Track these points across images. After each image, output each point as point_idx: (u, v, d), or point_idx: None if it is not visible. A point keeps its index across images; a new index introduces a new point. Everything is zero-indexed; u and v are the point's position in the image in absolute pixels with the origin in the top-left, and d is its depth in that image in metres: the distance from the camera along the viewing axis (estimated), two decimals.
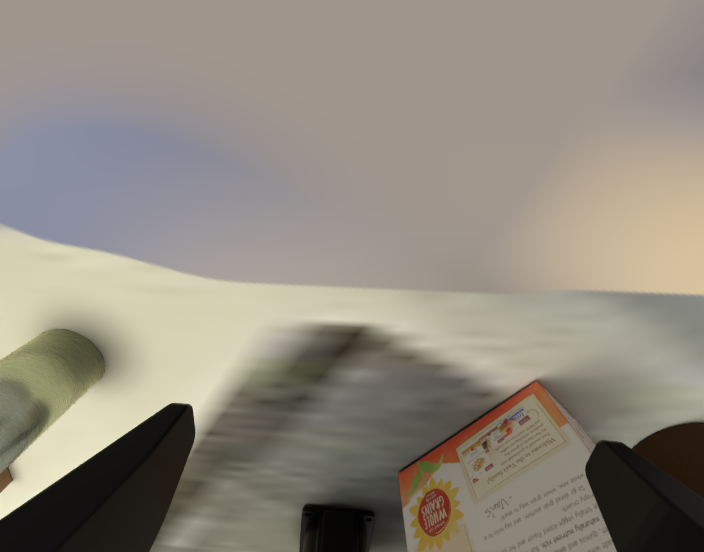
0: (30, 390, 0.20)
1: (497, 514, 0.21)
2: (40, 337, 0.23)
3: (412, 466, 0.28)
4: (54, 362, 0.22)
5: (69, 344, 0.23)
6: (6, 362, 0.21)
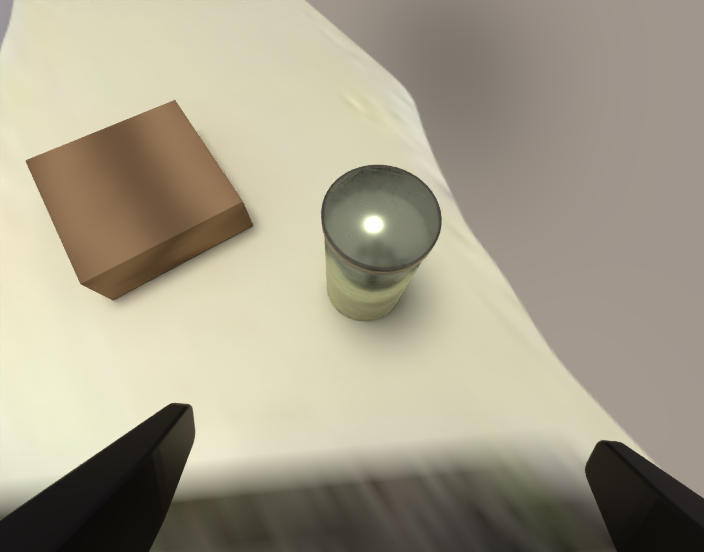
0: None
1: None
2: None
3: None
4: None
5: None
6: None
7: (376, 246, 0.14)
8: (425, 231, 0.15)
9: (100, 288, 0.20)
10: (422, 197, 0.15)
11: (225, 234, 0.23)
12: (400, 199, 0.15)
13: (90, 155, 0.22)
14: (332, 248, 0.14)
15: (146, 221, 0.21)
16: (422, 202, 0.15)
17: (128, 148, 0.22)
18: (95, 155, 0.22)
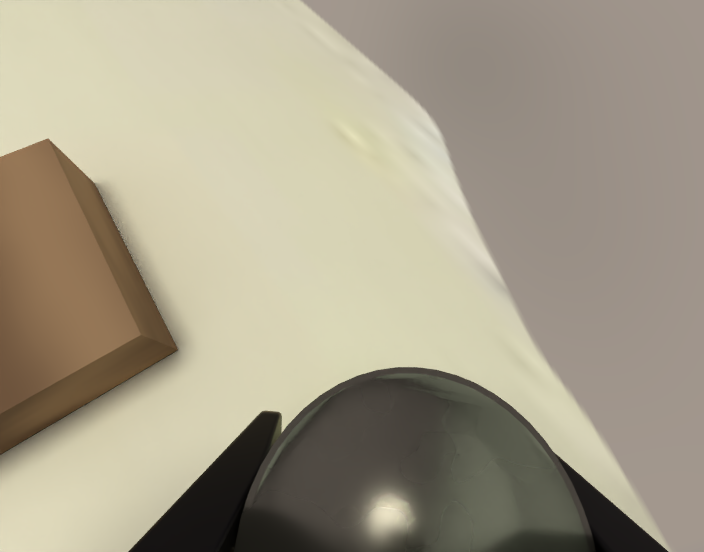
0: None
1: None
2: None
3: None
4: None
5: None
6: None
7: None
8: None
9: None
10: (535, 483, 0.05)
11: (122, 375, 0.13)
12: (471, 493, 0.05)
13: None
14: None
15: None
16: (535, 501, 0.05)
17: None
18: None
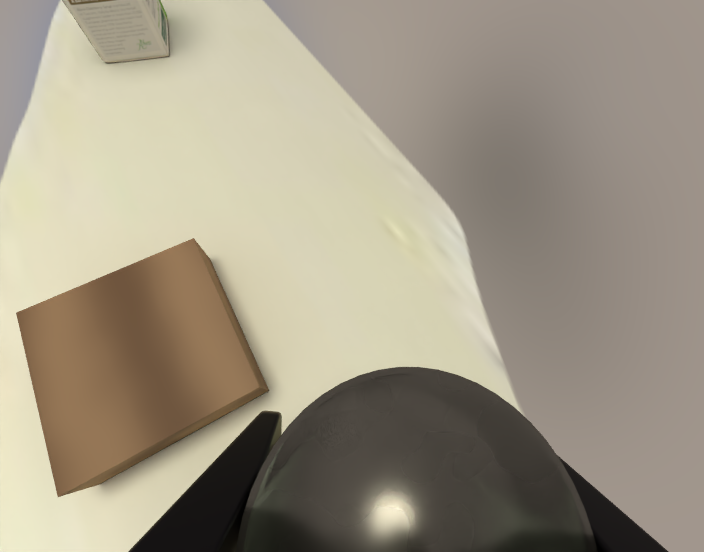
0: None
1: None
2: None
3: None
4: None
5: None
6: None
7: None
8: None
9: (83, 487, 0.17)
10: (536, 483, 0.05)
11: (236, 407, 0.20)
12: (473, 492, 0.05)
13: (90, 310, 0.19)
14: None
15: (145, 408, 0.17)
16: (537, 501, 0.05)
17: (134, 302, 0.19)
18: (95, 310, 0.19)
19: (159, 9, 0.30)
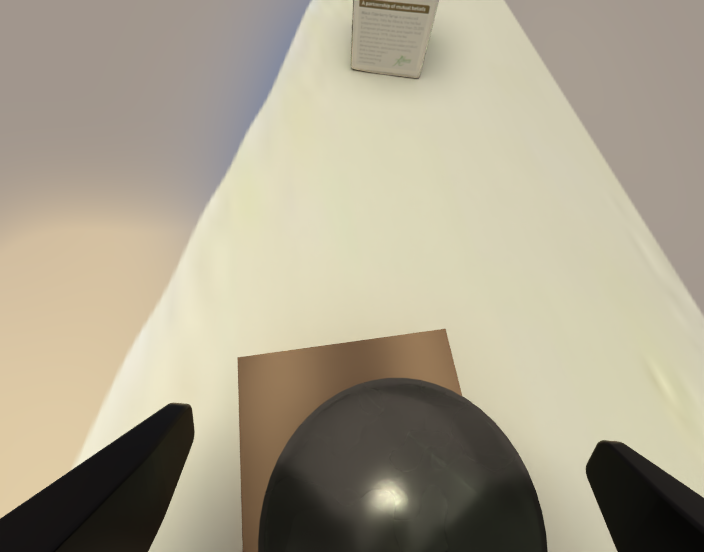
0: None
1: None
2: None
3: None
4: None
5: None
6: None
7: None
8: None
9: None
10: (497, 470, 0.07)
11: None
12: (446, 478, 0.06)
13: (317, 384, 0.16)
14: None
15: None
16: (497, 485, 0.06)
17: None
18: (322, 387, 0.16)
19: None
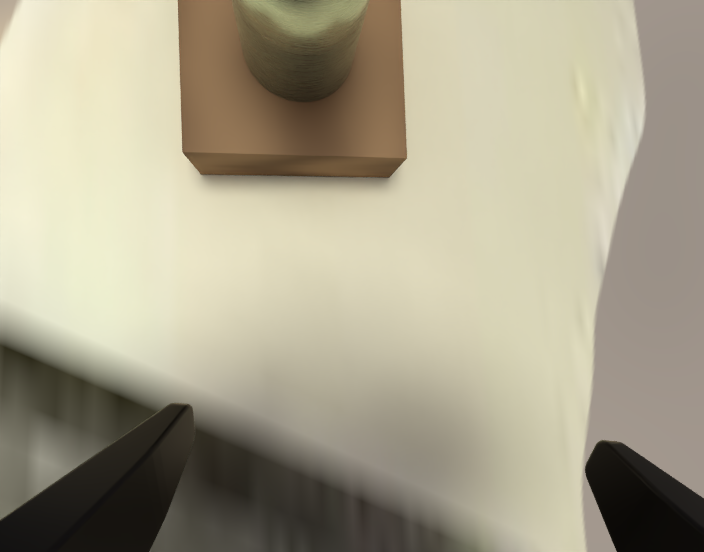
0: None
1: None
2: None
3: None
4: None
5: None
6: None
7: None
8: None
9: (198, 162, 0.16)
10: None
11: (357, 172, 0.18)
12: None
13: None
14: None
15: (289, 114, 0.15)
16: None
17: None
18: None
19: None
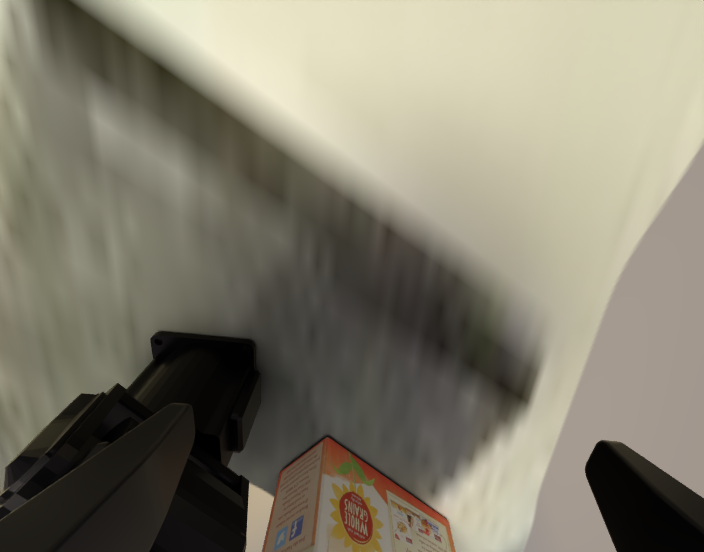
0: None
1: None
2: None
3: (343, 450, 0.25)
4: None
5: None
6: None
7: None
8: None
9: None
10: None
11: None
12: None
13: None
14: None
15: None
16: None
17: None
18: None
19: None
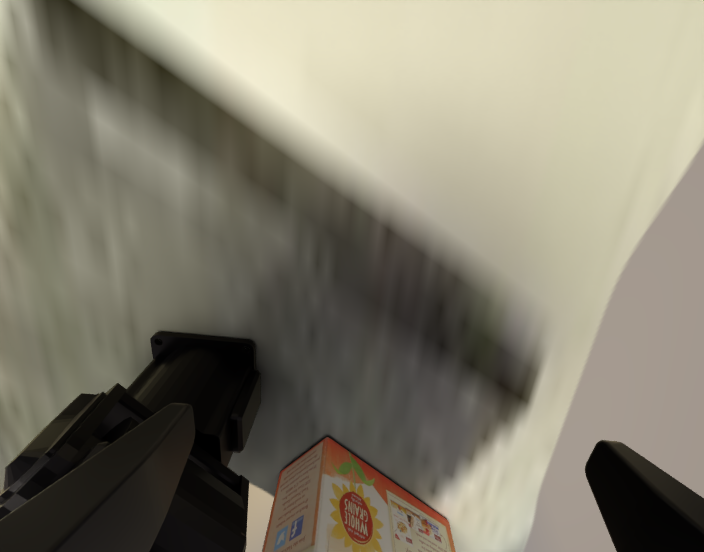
0: None
1: None
2: None
3: (343, 450, 0.25)
4: None
5: None
6: None
7: None
8: None
9: None
10: None
11: None
12: None
13: None
14: None
15: None
16: None
17: None
18: None
19: None
